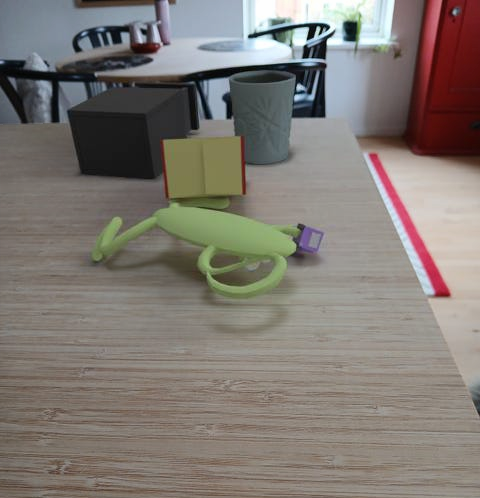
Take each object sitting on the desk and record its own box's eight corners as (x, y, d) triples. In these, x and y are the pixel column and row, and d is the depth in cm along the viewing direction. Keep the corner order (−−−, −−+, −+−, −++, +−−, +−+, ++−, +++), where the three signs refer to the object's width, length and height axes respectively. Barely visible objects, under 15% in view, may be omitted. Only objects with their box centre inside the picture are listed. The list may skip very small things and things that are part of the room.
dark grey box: (121, 144, 92) (111, 86, 86) (187, 148, 89) (182, 88, 83) (80, 173, 81) (66, 110, 75) (154, 179, 78) (145, 113, 72)
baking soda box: (177, 186, 75) (165, 198, 60) (173, 139, 73) (160, 139, 58) (242, 183, 75) (246, 195, 60) (240, 136, 73) (243, 136, 58)
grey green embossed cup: (227, 165, 81) (223, 83, 74) (237, 144, 89) (234, 69, 82) (291, 166, 80) (293, 83, 73) (295, 145, 88) (297, 68, 81)
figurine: (196, 226, 72) (193, 186, 70) (363, 258, 54) (366, 205, 52) (78, 257, 60) (70, 209, 58) (243, 310, 42) (240, 244, 40)
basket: (152, 118, 101) (147, 76, 97) (207, 121, 99) (204, 77, 94) (110, 148, 87) (101, 100, 83) (173, 152, 85) (167, 102, 80)
